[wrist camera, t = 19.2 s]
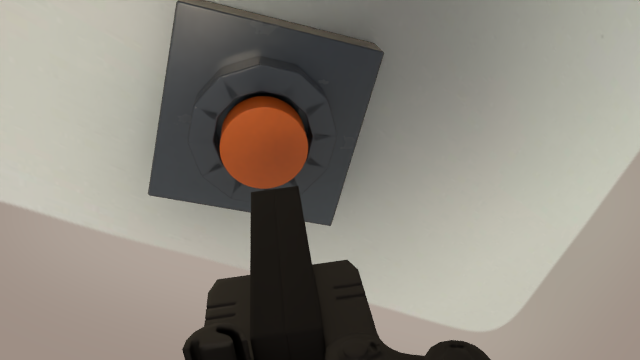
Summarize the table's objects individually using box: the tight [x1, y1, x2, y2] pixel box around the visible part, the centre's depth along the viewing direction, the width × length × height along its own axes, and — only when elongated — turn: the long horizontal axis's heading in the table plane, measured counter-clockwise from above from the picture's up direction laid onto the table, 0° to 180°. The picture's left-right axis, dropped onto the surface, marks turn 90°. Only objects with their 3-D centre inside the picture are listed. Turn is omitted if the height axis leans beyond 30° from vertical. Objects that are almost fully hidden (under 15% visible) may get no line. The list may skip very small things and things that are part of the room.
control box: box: [148, 0, 384, 226], centre depth 27 cm, size 10×10×4 cm
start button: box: [220, 96, 308, 189], centre depth 25 cm, size 4×4×2 cm
